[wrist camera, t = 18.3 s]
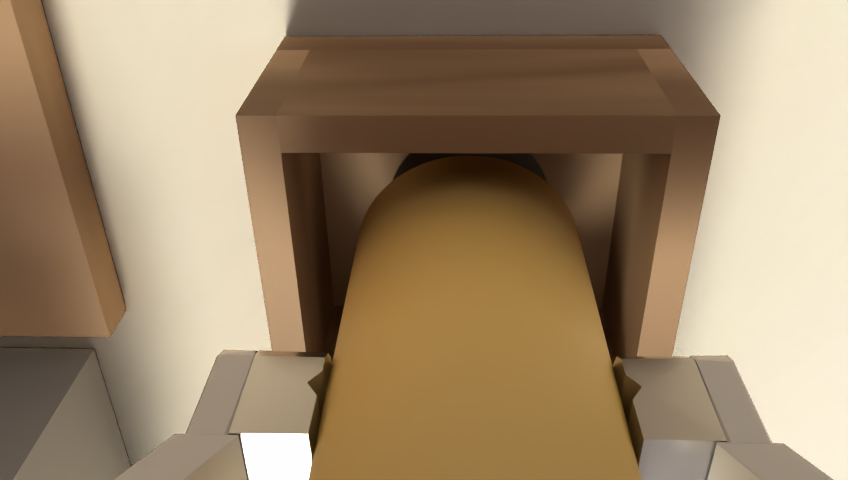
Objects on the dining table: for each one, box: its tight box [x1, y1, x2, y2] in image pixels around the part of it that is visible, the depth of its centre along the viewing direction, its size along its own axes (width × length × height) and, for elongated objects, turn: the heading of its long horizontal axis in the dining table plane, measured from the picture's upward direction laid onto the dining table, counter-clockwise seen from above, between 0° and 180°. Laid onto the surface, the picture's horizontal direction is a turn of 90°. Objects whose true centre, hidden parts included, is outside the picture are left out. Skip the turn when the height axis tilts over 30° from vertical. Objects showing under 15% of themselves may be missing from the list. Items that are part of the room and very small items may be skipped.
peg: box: [308, 155, 642, 480], centre depth 11 cm, size 4×4×8 cm
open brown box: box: [236, 35, 720, 366], centre depth 16 cm, size 12×7×4 cm, turn 1°
